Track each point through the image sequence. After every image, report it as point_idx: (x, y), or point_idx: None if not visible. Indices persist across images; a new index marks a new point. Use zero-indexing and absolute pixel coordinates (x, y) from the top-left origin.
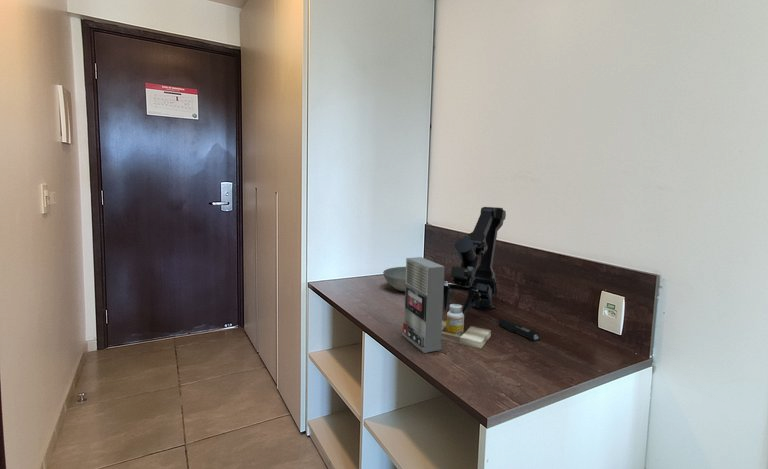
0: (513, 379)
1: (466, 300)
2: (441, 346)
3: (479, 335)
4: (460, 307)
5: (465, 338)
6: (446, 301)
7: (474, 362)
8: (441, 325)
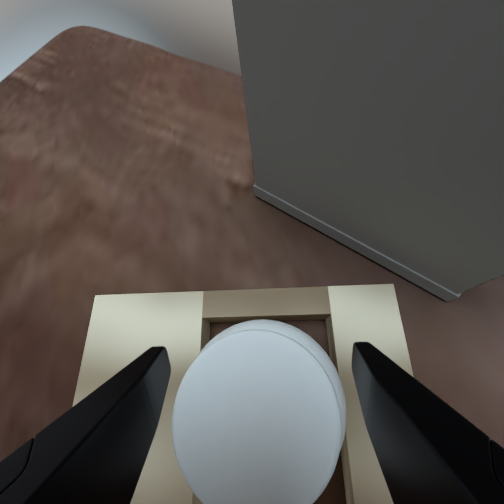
0: (7, 154)
1: (51, 473)
2: (253, 185)
3: None
4: (183, 380)
5: (174, 294)
6: (404, 401)
7: (122, 182)
8: (247, 105)
